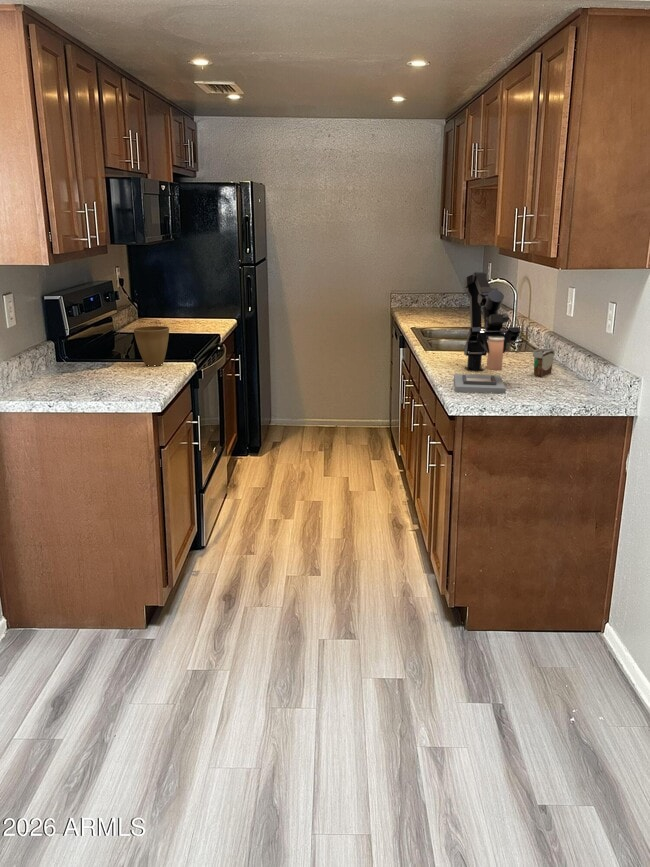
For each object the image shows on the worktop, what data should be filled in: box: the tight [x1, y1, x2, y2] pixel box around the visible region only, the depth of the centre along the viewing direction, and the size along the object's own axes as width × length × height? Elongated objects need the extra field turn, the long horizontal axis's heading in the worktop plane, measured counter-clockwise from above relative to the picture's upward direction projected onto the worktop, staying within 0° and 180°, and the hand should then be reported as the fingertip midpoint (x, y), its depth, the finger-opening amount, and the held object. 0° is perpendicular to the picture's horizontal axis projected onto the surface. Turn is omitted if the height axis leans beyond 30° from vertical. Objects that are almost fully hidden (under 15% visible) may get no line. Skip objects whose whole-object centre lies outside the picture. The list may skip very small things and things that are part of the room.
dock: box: [453, 373, 507, 394], centre depth 284 cm, size 24×18×3 cm
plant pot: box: [133, 325, 170, 367], centre depth 319 cm, size 15×15×16 cm
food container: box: [532, 348, 555, 378], centre depth 304 cm, size 12×6×10 cm, turn 141°
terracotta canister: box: [486, 336, 504, 371], centre depth 279 cm, size 6×6×12 cm
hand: (496, 352), depth 278 cm, fingers closed on terracotta canister, 6 cm apart
